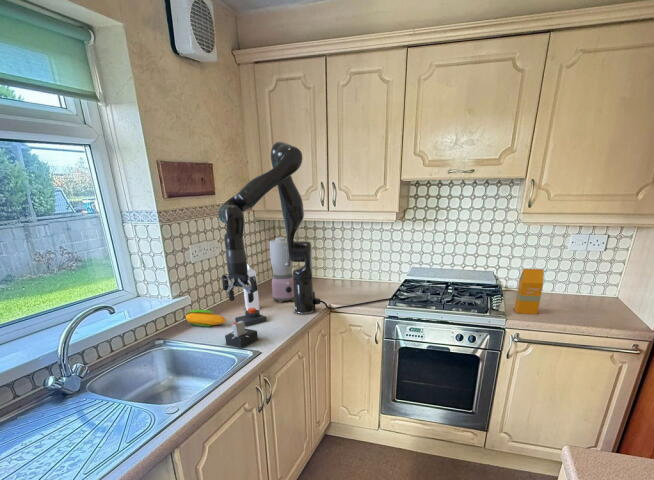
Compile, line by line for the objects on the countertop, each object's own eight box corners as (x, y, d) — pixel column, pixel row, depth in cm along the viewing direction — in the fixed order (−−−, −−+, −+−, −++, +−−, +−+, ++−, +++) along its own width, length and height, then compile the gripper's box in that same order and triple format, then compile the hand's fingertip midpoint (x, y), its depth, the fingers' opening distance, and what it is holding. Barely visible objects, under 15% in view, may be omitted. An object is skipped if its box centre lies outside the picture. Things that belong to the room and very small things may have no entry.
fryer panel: (242, 336, 169) (241, 327, 167) (260, 340, 165) (259, 330, 163) (223, 346, 160) (222, 336, 158) (242, 350, 156) (241, 340, 154)
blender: (269, 298, 221) (264, 237, 208) (289, 295, 227) (286, 235, 213) (281, 305, 209) (276, 241, 195) (302, 302, 214) (299, 239, 201)
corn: (190, 305, 185) (229, 308, 180) (193, 320, 189) (231, 324, 183) (180, 311, 179) (220, 314, 173) (184, 327, 182) (223, 330, 177)
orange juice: (537, 314, 190) (546, 271, 181) (517, 313, 191) (524, 270, 183) (533, 309, 197) (541, 267, 188) (514, 308, 198) (521, 267, 190)
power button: (253, 310, 190) (253, 307, 189) (257, 312, 187) (257, 308, 186) (247, 312, 187) (246, 308, 187) (251, 314, 185) (250, 310, 184)
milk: (257, 306, 208) (253, 263, 199) (259, 309, 203) (255, 265, 194) (245, 308, 206) (240, 264, 197) (247, 311, 201) (242, 266, 192)
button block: (256, 316, 193) (255, 308, 191) (266, 321, 187) (265, 313, 185) (235, 322, 187) (234, 313, 185) (245, 326, 180) (244, 318, 179)
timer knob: (241, 332, 162) (240, 320, 160) (245, 333, 161) (243, 320, 159) (234, 336, 158) (232, 323, 156) (237, 337, 157) (236, 324, 155)
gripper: (215, 261, 155) (221, 302, 162) (247, 263, 150) (252, 305, 158) (225, 257, 161) (231, 297, 168) (257, 259, 157) (262, 300, 164)
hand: (241, 301), depth 163 cm, fingers open, 8 cm apart
